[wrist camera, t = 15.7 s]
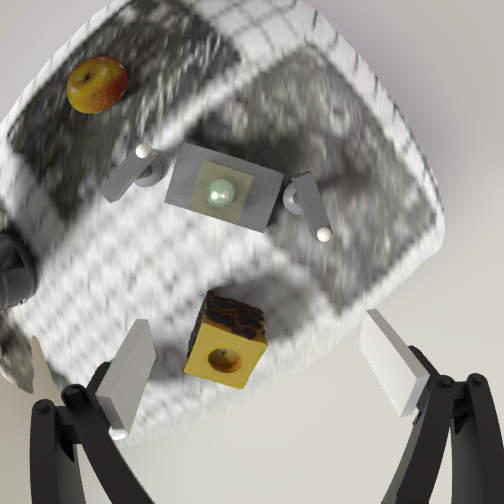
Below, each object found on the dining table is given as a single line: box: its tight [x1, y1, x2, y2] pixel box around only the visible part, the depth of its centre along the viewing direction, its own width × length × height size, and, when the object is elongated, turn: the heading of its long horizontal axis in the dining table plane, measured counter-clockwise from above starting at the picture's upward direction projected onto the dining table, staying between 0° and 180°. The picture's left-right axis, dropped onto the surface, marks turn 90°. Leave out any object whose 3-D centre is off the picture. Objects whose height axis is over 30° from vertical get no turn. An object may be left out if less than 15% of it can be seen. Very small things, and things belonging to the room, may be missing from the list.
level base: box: [165, 142, 285, 233], centre depth 37 cm, size 15×9×11 cm, turn 71°
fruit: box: [67, 56, 128, 114], centre depth 32 cm, size 10×9×8 cm
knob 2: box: [282, 171, 333, 242], centre depth 38 cm, size 8×5×10 cm, turn 22°
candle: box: [184, 291, 268, 389], centre depth 44 cm, size 10×10×10 cm
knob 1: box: [99, 142, 163, 203], centre depth 35 cm, size 8×5×10 cm, turn 133°
